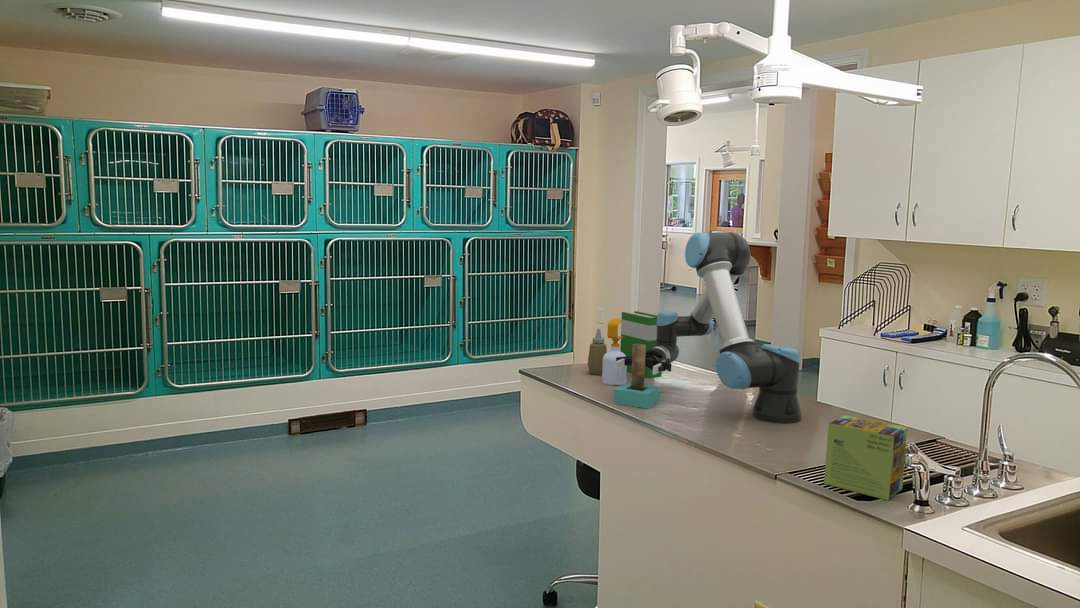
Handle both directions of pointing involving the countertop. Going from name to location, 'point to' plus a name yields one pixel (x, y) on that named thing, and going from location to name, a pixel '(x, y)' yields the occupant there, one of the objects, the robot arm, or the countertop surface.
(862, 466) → the protein box
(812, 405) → the countertop surface
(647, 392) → the socket
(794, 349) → the robot arm
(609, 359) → the soap bottle
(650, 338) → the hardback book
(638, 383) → the dowel
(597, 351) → the squeeze bottle
